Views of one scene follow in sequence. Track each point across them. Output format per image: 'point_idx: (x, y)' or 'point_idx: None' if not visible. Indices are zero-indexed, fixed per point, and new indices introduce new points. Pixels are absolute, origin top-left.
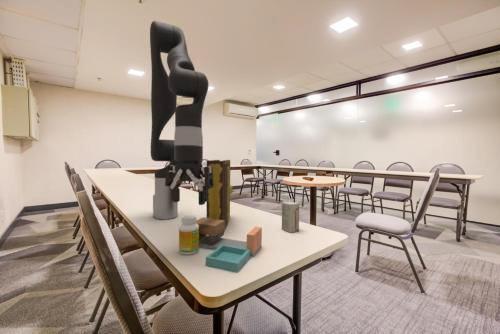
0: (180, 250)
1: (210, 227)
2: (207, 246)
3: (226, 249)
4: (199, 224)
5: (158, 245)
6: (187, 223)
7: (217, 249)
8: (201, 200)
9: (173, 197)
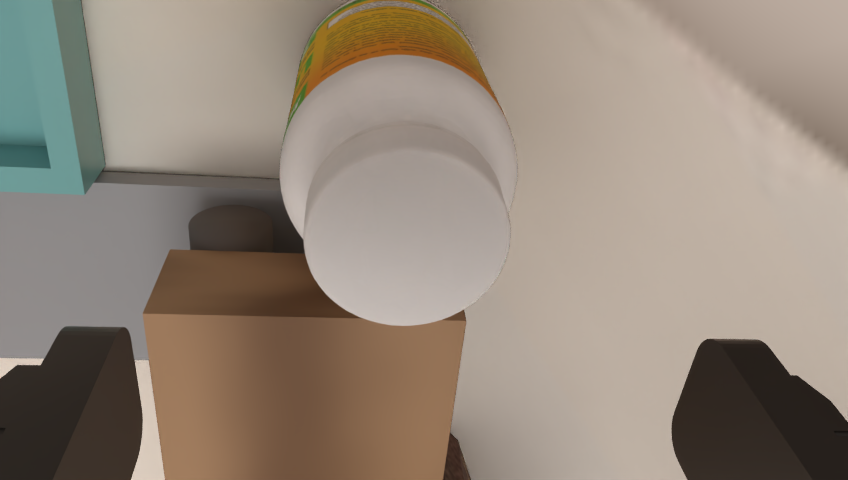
0: (428, 4)
1: (209, 298)
2: (261, 185)
3: (27, 155)
4: None
5: (720, 91)
6: (367, 128)
7: (44, 75)
8: (39, 400)
9: (785, 397)
